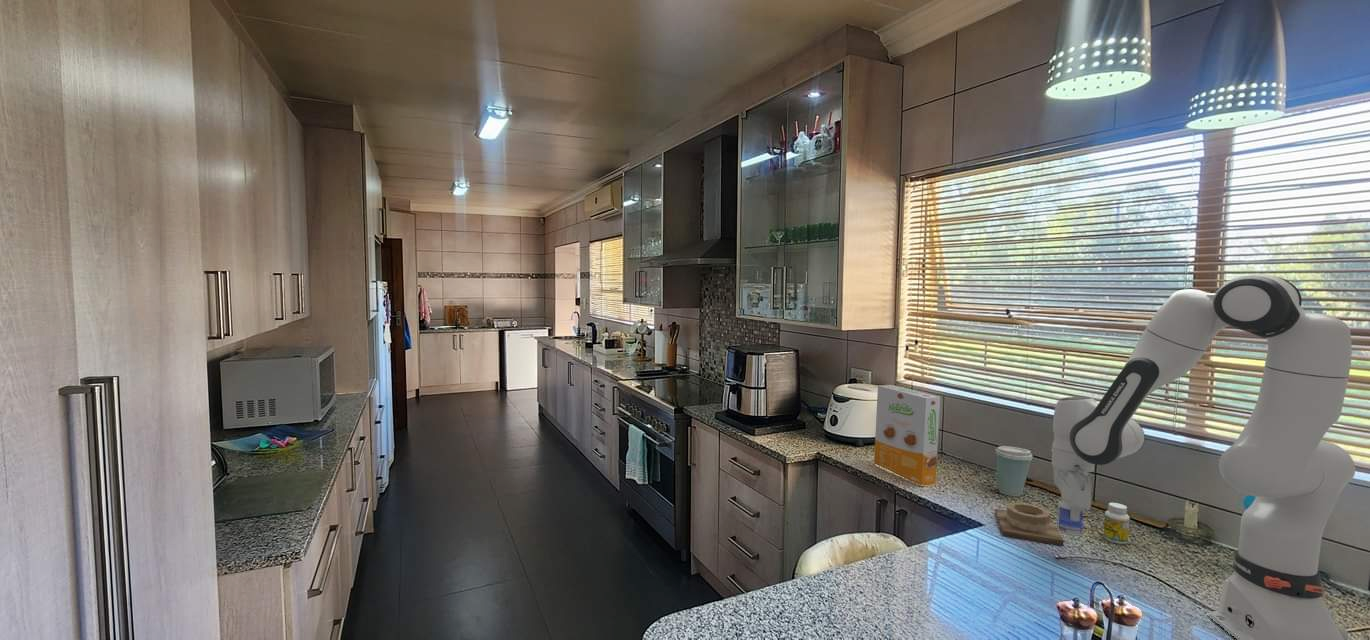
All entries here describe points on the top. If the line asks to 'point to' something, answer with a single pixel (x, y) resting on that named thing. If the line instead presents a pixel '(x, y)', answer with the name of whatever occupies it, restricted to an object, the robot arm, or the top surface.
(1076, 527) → the pill bottle
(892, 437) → the cereal box
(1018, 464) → the disposable coffee cup
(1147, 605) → the top surface
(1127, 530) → the supplement bottle
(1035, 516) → the tan wooden ringed block
